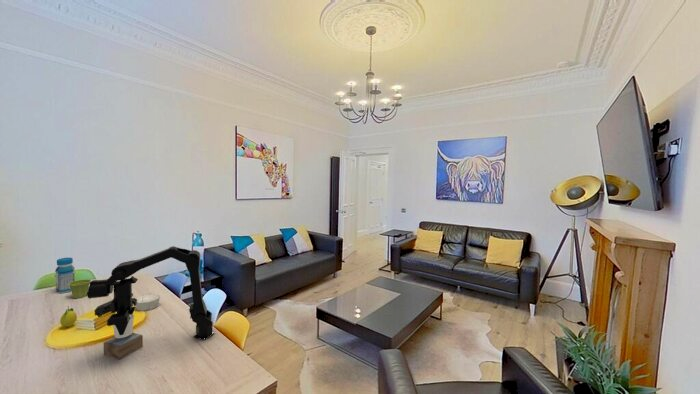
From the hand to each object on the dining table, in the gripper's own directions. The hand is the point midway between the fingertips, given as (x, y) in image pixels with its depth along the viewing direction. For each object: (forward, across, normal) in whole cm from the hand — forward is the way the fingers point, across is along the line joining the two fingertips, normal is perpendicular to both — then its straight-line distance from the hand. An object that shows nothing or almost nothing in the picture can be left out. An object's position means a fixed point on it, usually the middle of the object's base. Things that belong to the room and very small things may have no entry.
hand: (123, 330), depth 113 cm
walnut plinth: (+8, 0, 0) cm, 8 cm away
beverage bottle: (+8, -86, -46) cm, 98 cm away
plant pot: (+8, -73, -35) cm, 81 cm away
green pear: (+8, -32, -27) cm, 43 cm away
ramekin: (+9, -42, +2) cm, 43 cm away
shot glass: (+2, 0, 0) cm, 2 cm away
